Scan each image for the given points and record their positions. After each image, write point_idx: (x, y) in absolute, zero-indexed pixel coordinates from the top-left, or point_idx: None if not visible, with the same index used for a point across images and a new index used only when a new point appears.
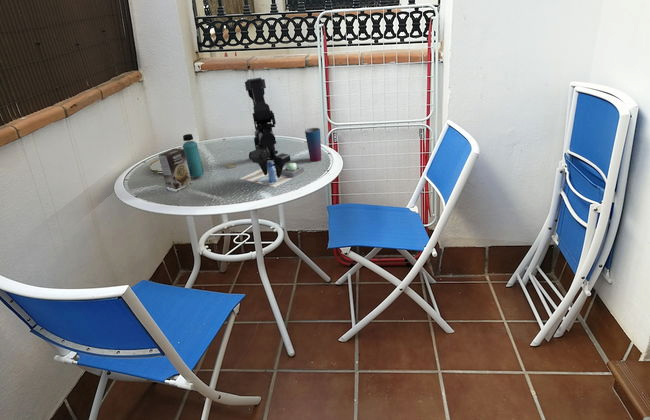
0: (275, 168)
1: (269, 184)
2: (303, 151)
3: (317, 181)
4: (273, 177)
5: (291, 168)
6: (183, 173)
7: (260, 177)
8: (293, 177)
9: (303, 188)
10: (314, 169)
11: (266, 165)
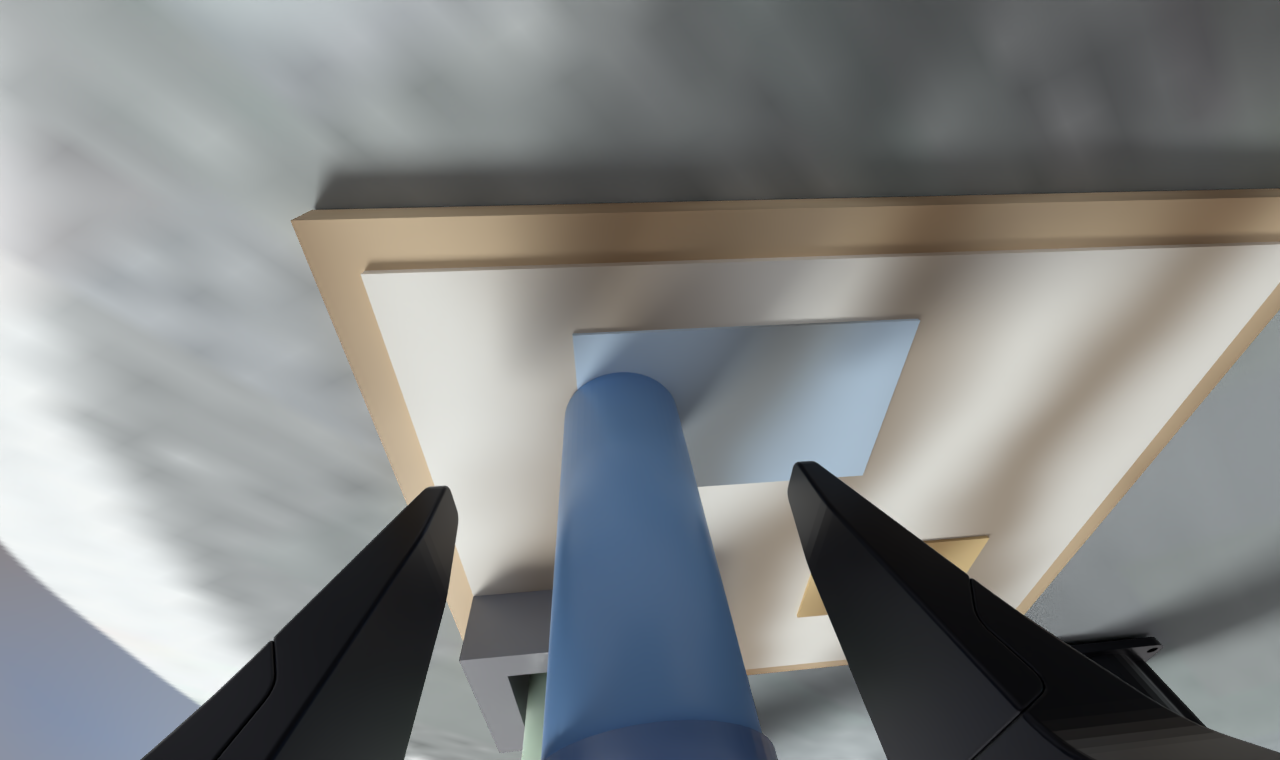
0: (268, 751)
1: (580, 312)
2: None
3: (199, 640)
4: (561, 468)
5: (543, 721)
6: None
7: (928, 430)
8: (475, 598)
9: (59, 479)
10: None
11: (876, 697)
